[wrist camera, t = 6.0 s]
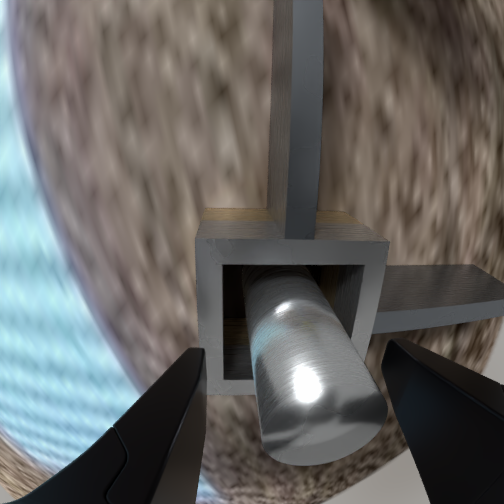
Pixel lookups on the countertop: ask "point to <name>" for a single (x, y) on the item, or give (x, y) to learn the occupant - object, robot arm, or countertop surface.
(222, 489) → the countertop surface
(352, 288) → the hinge
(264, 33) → the countertop surface
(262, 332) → the hinge pin
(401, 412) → the robot arm
